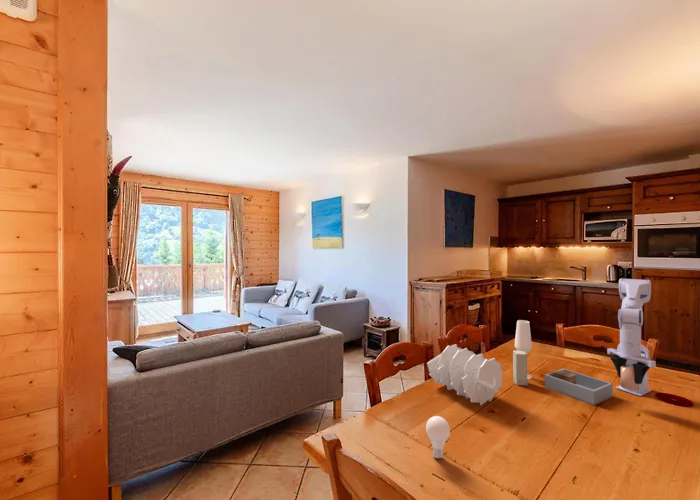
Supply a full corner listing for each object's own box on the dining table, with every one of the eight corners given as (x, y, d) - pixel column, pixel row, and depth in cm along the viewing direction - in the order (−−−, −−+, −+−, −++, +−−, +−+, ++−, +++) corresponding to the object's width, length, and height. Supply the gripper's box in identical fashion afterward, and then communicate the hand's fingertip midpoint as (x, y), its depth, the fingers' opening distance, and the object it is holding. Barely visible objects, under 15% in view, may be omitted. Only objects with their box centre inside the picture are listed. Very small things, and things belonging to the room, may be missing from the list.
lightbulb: (422, 450, 93) (422, 412, 93) (444, 449, 93) (444, 411, 93) (430, 465, 86) (430, 424, 86) (453, 464, 87) (453, 423, 87)
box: (527, 386, 134) (528, 354, 134) (516, 385, 135) (516, 354, 135) (523, 380, 140) (523, 350, 139) (512, 380, 140) (512, 349, 140)
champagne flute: (532, 374, 146) (532, 320, 145) (531, 380, 140) (531, 323, 140) (515, 371, 149) (515, 318, 149) (513, 376, 144) (513, 321, 143)
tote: (563, 380, 140) (563, 368, 140) (612, 396, 125) (612, 383, 125) (544, 386, 134) (544, 374, 134) (593, 405, 118) (593, 391, 118)
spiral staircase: (449, 390, 140) (502, 413, 118) (420, 380, 132) (470, 402, 111) (461, 348, 144) (514, 363, 122) (433, 335, 137) (484, 349, 115)
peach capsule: (627, 383, 120) (627, 364, 120) (642, 389, 115) (642, 369, 115) (616, 385, 119) (617, 365, 119) (631, 391, 114) (632, 371, 114)
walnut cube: (576, 387, 132) (576, 374, 132) (569, 389, 130) (569, 377, 129) (563, 382, 136) (563, 370, 136) (556, 385, 134) (556, 372, 134)
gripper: (601, 337, 123) (600, 373, 123) (645, 349, 109) (644, 390, 109) (615, 336, 125) (615, 371, 125) (660, 347, 111) (659, 387, 111)
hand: (629, 380), depth 117 cm, fingers closed on peach capsule, 5 cm apart
